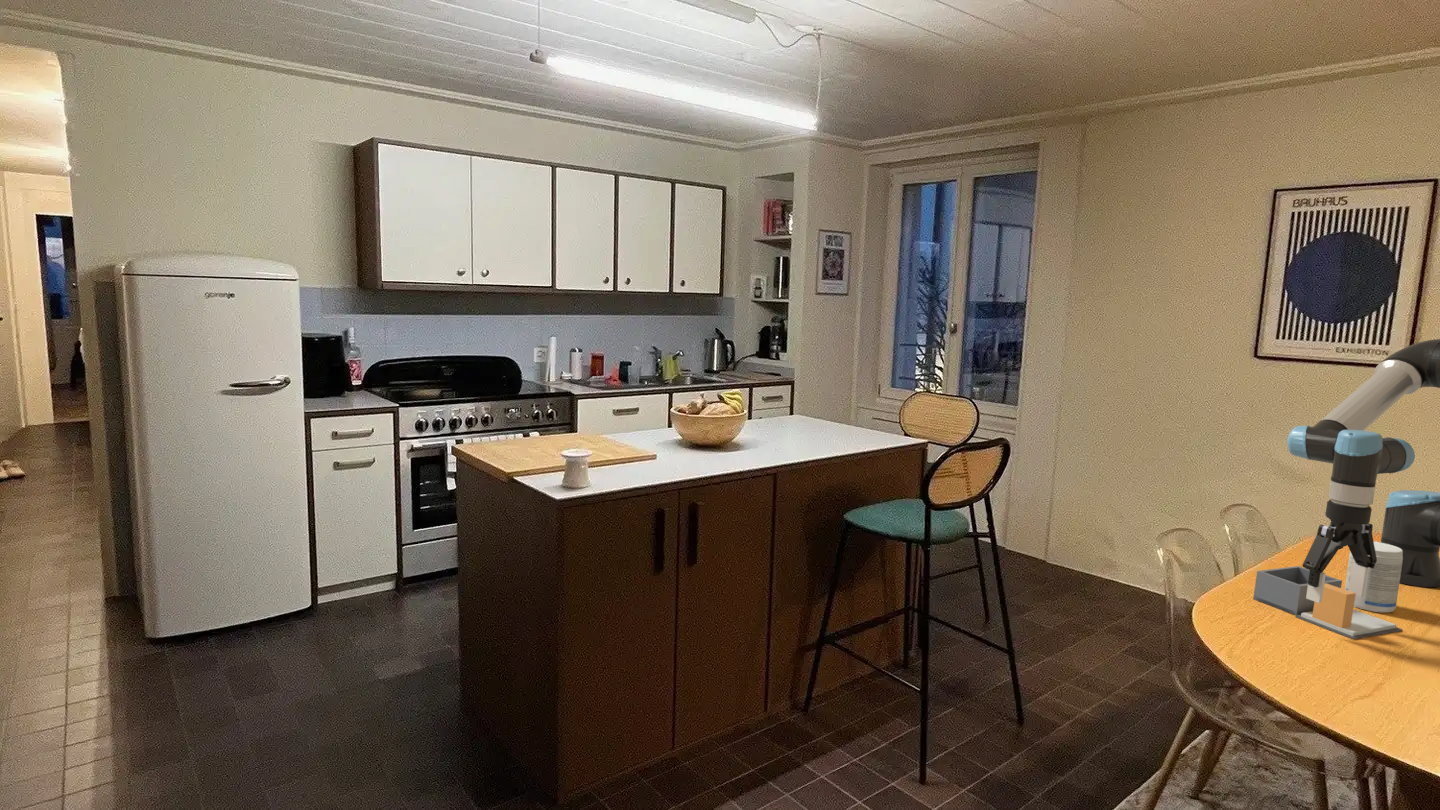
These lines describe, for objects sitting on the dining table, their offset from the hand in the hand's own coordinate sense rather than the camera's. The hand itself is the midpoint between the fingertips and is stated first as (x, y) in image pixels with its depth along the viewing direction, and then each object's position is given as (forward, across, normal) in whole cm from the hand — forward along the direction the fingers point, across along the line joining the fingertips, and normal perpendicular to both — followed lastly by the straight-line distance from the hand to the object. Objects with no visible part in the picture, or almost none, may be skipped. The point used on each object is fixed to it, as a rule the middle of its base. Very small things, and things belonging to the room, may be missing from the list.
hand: (1334, 597), depth 172 cm
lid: (+6, -6, 0) cm, 9 cm away
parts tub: (+7, -6, -12) cm, 15 cm away
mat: (+7, -6, 0) cm, 9 cm away
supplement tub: (+7, -23, -6) cm, 25 cm away
